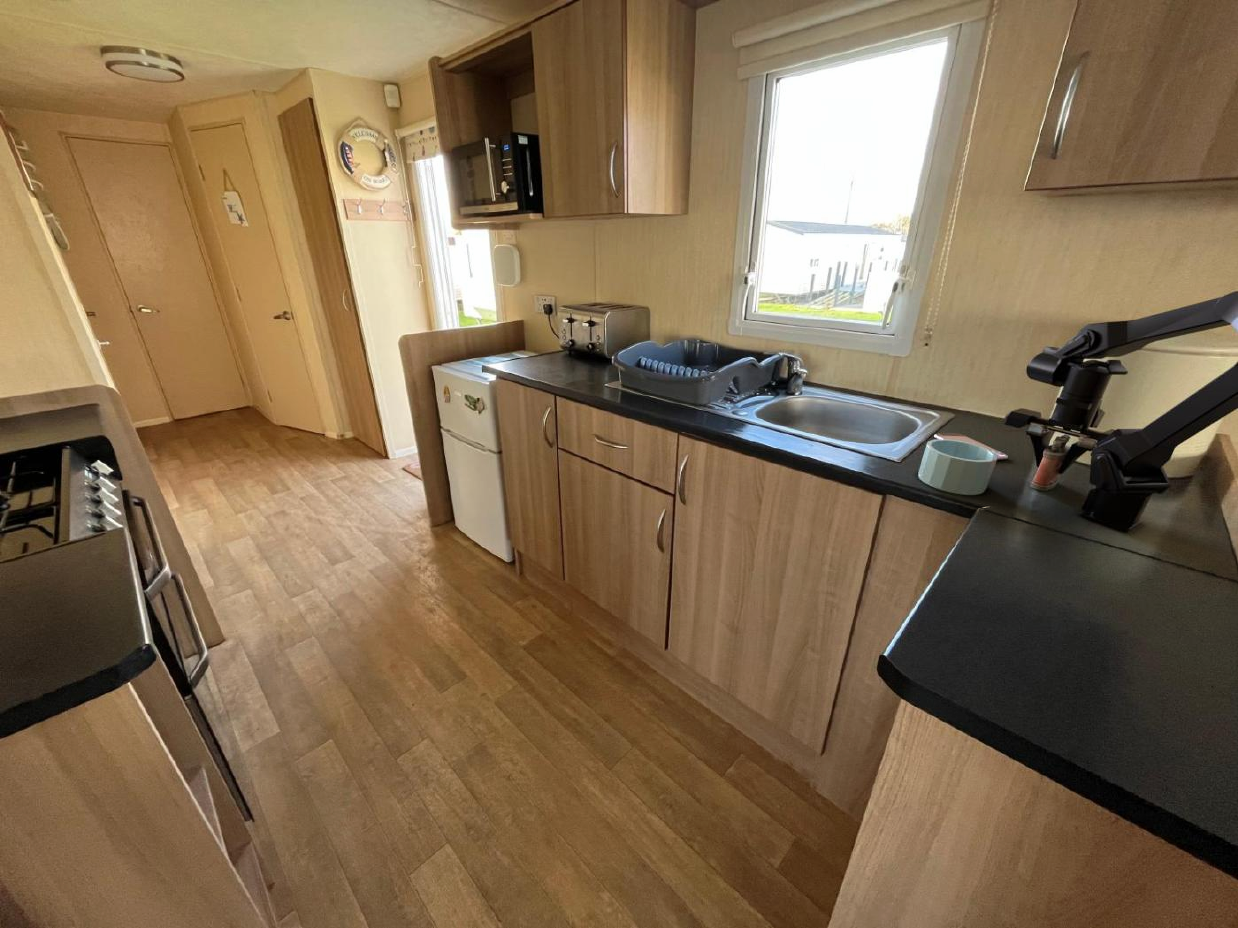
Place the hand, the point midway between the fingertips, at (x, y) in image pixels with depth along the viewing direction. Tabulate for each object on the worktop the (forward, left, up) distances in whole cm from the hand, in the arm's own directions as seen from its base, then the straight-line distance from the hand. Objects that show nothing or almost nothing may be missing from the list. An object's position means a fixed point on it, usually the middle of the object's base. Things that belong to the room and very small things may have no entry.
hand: (1049, 470), depth 96 cm
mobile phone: (+18, -8, -3) cm, 20 cm away
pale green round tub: (+10, +15, -3) cm, 18 cm away
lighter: (0, 0, -3) cm, 3 cm away
